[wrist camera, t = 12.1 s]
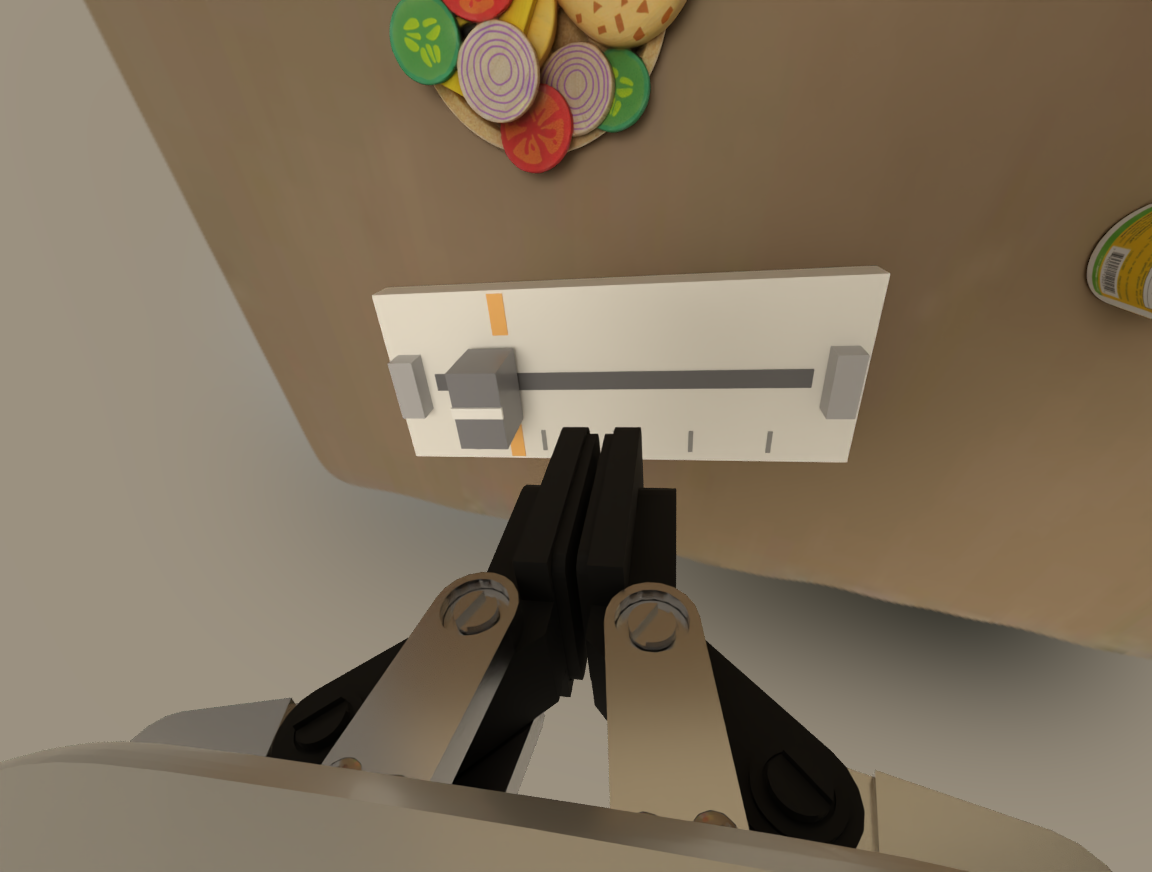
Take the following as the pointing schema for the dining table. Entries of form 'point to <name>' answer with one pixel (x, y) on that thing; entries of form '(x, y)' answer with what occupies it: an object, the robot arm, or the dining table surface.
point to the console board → (650, 359)
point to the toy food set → (535, 67)
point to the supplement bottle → (1125, 264)
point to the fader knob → (485, 398)
